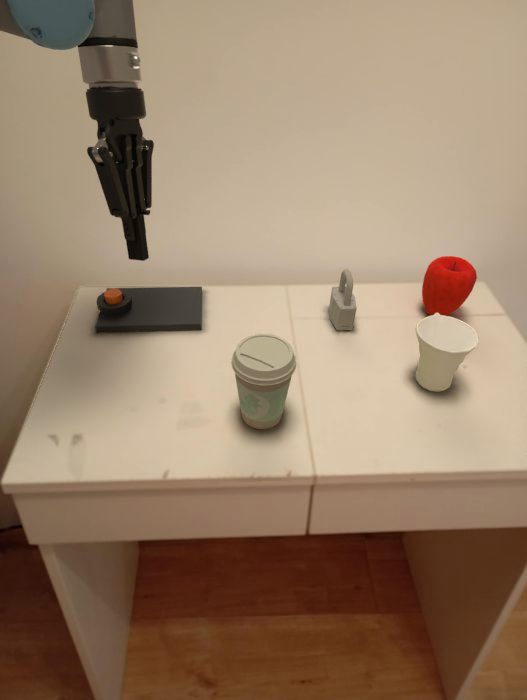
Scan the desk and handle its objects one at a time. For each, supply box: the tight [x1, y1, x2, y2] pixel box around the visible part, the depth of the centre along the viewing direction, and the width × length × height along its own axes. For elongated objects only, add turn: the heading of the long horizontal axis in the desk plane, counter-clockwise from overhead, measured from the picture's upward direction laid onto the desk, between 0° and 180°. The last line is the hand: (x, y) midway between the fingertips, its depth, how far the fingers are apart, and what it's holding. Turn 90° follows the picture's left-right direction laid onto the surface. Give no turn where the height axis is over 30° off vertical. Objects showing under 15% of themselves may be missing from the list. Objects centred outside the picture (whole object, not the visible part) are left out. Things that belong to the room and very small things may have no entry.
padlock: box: [328, 268, 357, 331], centre depth 83 cm, size 7×4×10 cm, turn 5°
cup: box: [415, 313, 480, 393], centre depth 72 cm, size 9×9×10 cm
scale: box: [95, 286, 203, 334], centre depth 86 cm, size 18×12×3 cm, turn 95°
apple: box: [421, 255, 478, 317], centre depth 86 cm, size 9×9×11 cm
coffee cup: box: [230, 333, 297, 430], centre depth 64 cm, size 8×9×12 cm
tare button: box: [104, 289, 123, 304], centre depth 84 cm, size 3×3×2 cm
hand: (138, 258), depth 74 cm, fingers closed
